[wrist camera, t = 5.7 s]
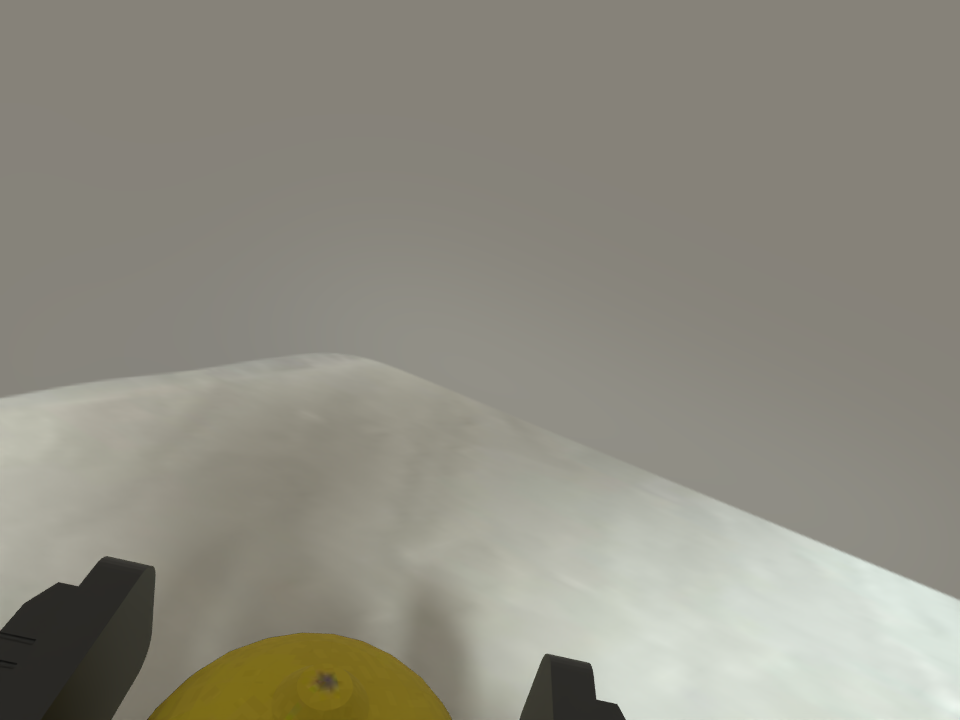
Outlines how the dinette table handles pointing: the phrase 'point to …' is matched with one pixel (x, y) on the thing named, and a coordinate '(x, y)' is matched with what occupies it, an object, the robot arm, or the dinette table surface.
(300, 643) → the lemon
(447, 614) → the dinette table surface
